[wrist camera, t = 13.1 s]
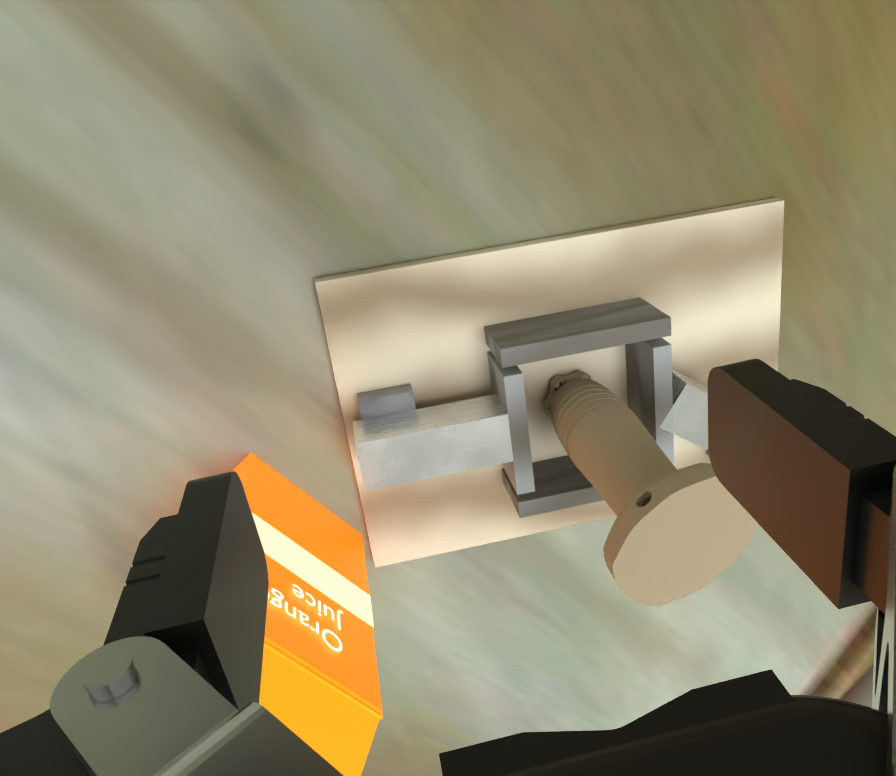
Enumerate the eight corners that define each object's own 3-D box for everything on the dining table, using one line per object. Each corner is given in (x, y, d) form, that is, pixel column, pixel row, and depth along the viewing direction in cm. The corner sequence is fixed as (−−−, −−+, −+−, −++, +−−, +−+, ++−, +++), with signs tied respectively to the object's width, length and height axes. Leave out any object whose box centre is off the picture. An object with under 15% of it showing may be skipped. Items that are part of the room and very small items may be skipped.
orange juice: (251, 449, 43) (206, 721, 25) (365, 534, 46) (399, 828, 28) (162, 541, 44) (57, 863, 26) (279, 617, 48) (259, 951, 29)
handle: (501, 405, 43) (590, 563, 30) (584, 328, 42) (715, 454, 29) (554, 454, 45) (660, 623, 32) (634, 381, 44) (780, 523, 31)
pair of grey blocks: (347, 394, 42) (351, 425, 38) (790, 310, 44) (833, 331, 41) (378, 545, 46) (384, 585, 42) (784, 459, 48) (822, 490, 45)
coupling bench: (314, 278, 40) (314, 303, 35) (774, 198, 43) (829, 211, 38) (373, 558, 47) (380, 609, 42) (765, 474, 50) (811, 514, 45)
